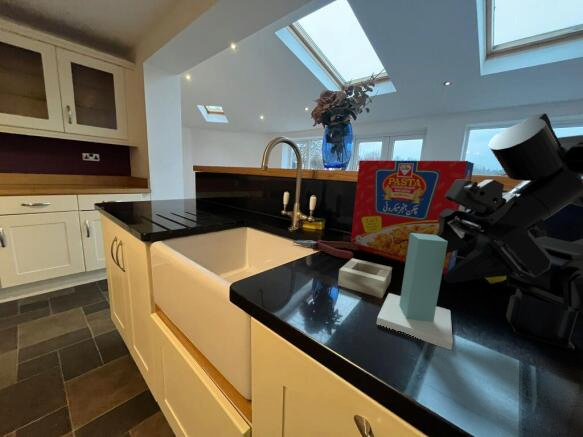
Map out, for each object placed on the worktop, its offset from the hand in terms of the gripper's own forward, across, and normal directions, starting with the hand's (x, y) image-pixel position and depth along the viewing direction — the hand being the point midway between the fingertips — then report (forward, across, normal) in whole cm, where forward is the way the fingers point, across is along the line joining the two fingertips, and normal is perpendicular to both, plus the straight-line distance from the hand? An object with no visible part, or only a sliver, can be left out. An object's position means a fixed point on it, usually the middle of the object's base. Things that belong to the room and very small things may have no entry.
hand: (432, 267), depth 39 cm
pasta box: (+4, -35, +10) cm, 37 cm away
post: (+7, 0, +4) cm, 8 cm away
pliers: (+19, -36, -5) cm, 41 cm away
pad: (+8, 0, +5) cm, 9 cm away
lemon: (-8, -21, +22) cm, 32 cm away
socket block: (+12, -12, +1) cm, 17 cm away
